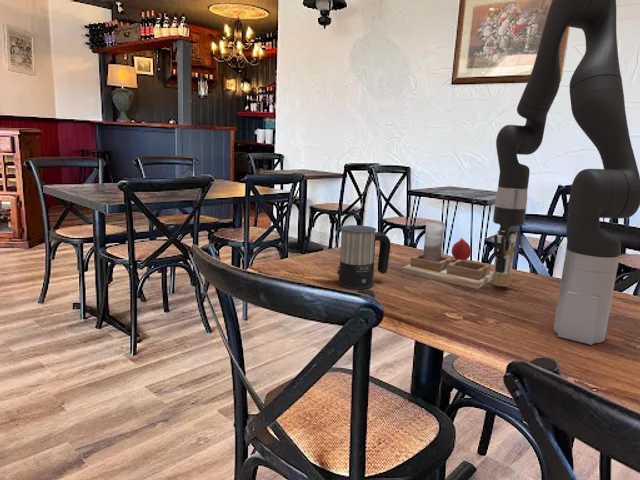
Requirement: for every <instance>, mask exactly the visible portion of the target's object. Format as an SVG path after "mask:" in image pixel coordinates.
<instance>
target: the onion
mask: <svg viewBox="0 0 640 480" xmlns="http://www.w3.org/2000/svg"><path fill="white" fill-rule="evenodd" d="M471 254H472V249H471V246H470V244H468V242H467V241H466V240H465V239H464V238H463V237H460V238H459V240H458V241H457V242H456V243H455V242H454V244H453V246H452V247H451V255H452V258H454V259H455V261H457V260H459V259H460V260H465V261H467V260H468V259H469V258H470V257H471Z"/></svg>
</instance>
